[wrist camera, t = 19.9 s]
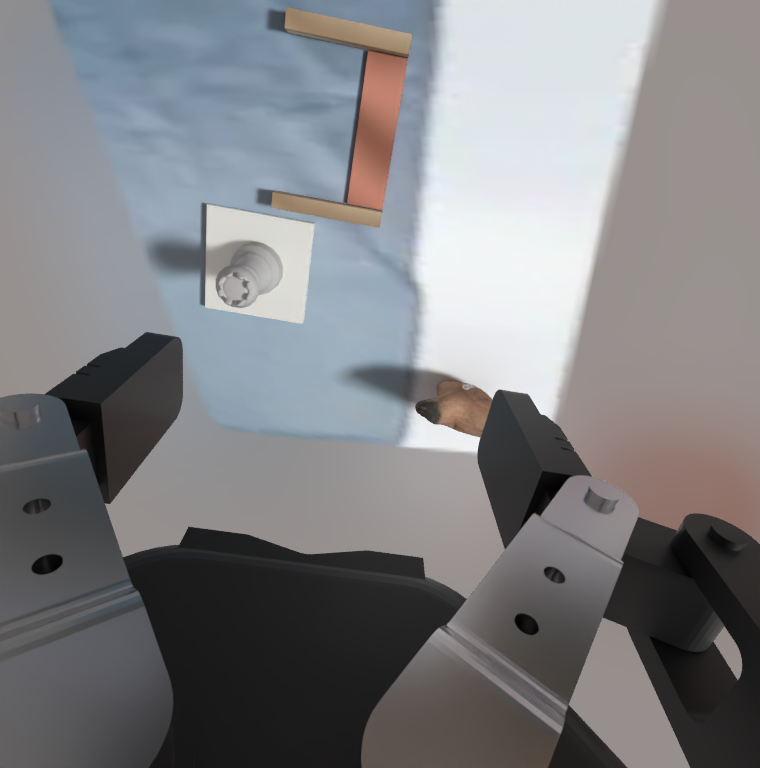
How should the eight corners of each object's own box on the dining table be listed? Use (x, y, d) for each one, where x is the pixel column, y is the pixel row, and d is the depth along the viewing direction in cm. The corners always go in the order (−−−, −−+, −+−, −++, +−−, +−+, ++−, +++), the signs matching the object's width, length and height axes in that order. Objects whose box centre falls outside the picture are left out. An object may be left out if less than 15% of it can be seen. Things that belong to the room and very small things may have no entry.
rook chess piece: (238, 293, 43) (209, 320, 36) (229, 242, 41) (196, 260, 34) (287, 290, 43) (268, 318, 36) (280, 239, 41) (259, 257, 34)
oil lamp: (404, 391, 48) (408, 432, 41) (420, 357, 46) (427, 394, 39) (483, 420, 49) (500, 465, 42) (501, 387, 48) (523, 429, 41)
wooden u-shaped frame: (289, 12, 35) (286, 7, 33) (411, 39, 35) (412, 34, 34) (275, 205, 40) (271, 207, 39) (379, 225, 41) (379, 227, 40)
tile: (209, 203, 40) (206, 204, 40) (315, 223, 41) (314, 224, 40) (207, 305, 44) (205, 307, 44) (303, 321, 45) (302, 323, 44)
